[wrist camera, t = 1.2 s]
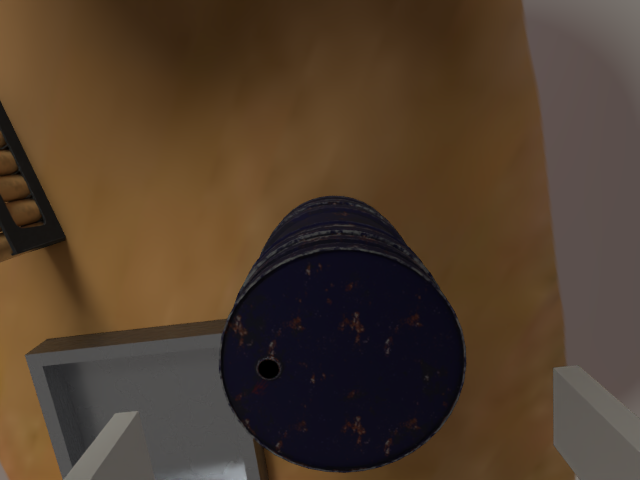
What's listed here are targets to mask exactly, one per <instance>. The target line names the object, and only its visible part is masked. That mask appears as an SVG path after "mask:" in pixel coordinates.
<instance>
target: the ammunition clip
mask: <svg viewBox="0 0 640 480" xmlns="http://www.w3.org/2000/svg"><path fill="white" fill-rule="evenodd" d="M5 202H8V203H5ZM20 226H21V227H20ZM1 231H3V233H0V262H3V261H5V260H8V259H11V258H13V257H16V256H19V255H22V254H24V253H27V252H30V251H34V250H37V249H41V248H44V247H47V246H50V245H53V244H56V243H58V242H61V241H64V240H65V238H66V236H65V234H64V232H63V230H62V228H61V226H60V224H59V222H58V220H57V218H56V215H55V213H54V211H53V209H52V207H51V205H50V203H49V201H48V199H47V197H46V195H45V193H44V191H43V189H42V186H41V184H40V182H39V180H38V178H37V176H36V174H35V172H34V170H33V168H32V166H31V164H30V162H29V160H28V157H27V155H26V153H25V151H24V149H23V147H22V145H21V143H20V141H19V139H18V137H17V135H16V133H15V131H14V128H13V126H12V124H11V122H10V120H9V118H8V116H7V114H6V112H5V110H4V108H3V106H2V104H1V102H0V232H1Z"/></svg>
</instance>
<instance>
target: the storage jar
mask: <svg viewBox="0 0 640 480" xmlns="http://www.w3.org/2000/svg"><path fill="white" fill-rule="evenodd" d="M465 370H466V346H465V341H464V337H463V332H462V328H461V326H460V323H459V321H458V318H457V316H456V314H455V311H454V310H453V308H452V307H451V305H450V303H449V302H448V300H447V299H446V297H445V296H444V294H443V293H442V292H441V290H440V288H439V286H438V284H437V283H436V281H435V280H434V278H433V276H432V275H431V273H430V272H429V271H428V270H427V268H426V267H425V266H424V265H423V263H422V262H421V260H420V259H419V258H418V257H417V255H416V254H415V253H414V252H413V251H412V250H411V249H410V248H409V247H408V246H407V245H406V243H405V242H404V240H403V239H402V237H401V236H400V235H399V233H398V232H397V230H396V229H395V228H394V227H393V226H392V225H391V223H390V222H389V221H388V220H387V219H386V218H384V217H383V216H382V215H381V214H380V213H379V212H377V211H376V210H375V209H374V208H373V207H371V206H369V205H367V204H366V203H364V202H361V201H359V200H356V199H354V198H349V197H344V196H325V197H319V198H316V199H312V200H309V201H307V202H305V203H303V204H301V205H299V206H298V207H296V208H295V209H293V210H292V211H291V212H290V213H289V214H288V215H286V216H285V217H284V219H283V220H282V221H281V222H280V223H279V225H278V226H277V227H276V228H275V230H274V231H273V232H272V234H271V236H270V238H269V239H268V241H267V243H266V244H265V246H264V248H263V250H262V252H261V255H260V257H259V259H258V260H257V261H256V262H255V264H254V265H253V267H252V269H251V270H250V272H249V274H248V276H247V278H246V280H245V282H244V284H243V286H242V287H241V289H240V291H239V293H238V296H237V298H236V301H235V304H234V307H233V309H232V311H231V313H230V315H229V316H228V318H227V321H226V324H225V327H224V330H223V333H222V336H221V342H220V348H219V374H220V379H221V385H222V389H223V392H224V394H225V397H226V400H227V403H228V405H229V407H230V409H231V410H232V412H233V414H234V416H235V417H236V419H237V420H238V422H239V423H240V424H241V425H242V427H243V428H244V429H245V430H246V432H247V433H248V434H249V435H250V436H251V437H252V438H253V439H255V440H256V441H257V442H258V443H259V444H260V445H261V446H263V447H264V448H266V449H267V450H269V451H270V452H272V453H273V454H274V455H276V456H278V457H280V458H282V459H284V460H286V461H288V462H291V463H293V464H296V465H299V466H302V467H305V468H308V469H314V470H319V471H325V472H343V473H346V472H357V471H365V470H369V469H374V468H378V467H382V466H384V465H387V464H390V463H392V462H395V461H398V460H400V459H401V458H403V457H405V456H407V455H409V454H411V453H412V452H414V451H415V450H417V449H418V448H419V447H421V446H422V445H423V444H425V443H426V442H427V441H428V440H429V439H430V438H431V437H432V436H433V435H434V434H435V433H436V432H437V431H438V430H439V429H440V428H441V427H442V426H443V424H444V423H445V421H446V420H447V419H448V417H449V416H450V415H451V413H452V411H453V409H454V407H455V405H456V403H457V401H458V399H459V396H460V393H461V389H462V386H463V383H464V378H465Z"/></svg>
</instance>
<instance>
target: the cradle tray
mask: <svg viewBox="0 0 640 480" xmlns="http://www.w3.org/2000/svg"><path fill="white" fill-rule="evenodd" d="M226 321H227V319H223V320H214V321H205V322H196V323H187V324H178V325H169V326H160V327H151V328H142V329H133V330H124V331H115V332H106V333H97V334H88V335H79V336H70V337H61V338H52V339H47V340H45V341H44V342H42V343H41V344H40V345H38V346H37V347H35V348H34V349H33V350H31V351H30V352H28V353H27V354H26V355H25V357H26V360H27V363H28V367H29V370H30V373H31V376H32V380H33V383H34V386H35V390H36V393H37V396H38V399H39V403H40V406H41V409H42V413H43V416H44V419H45V422H46V426H47V429H48V432H49V436H50V439H51V442H52V445H53V449H54V452H55V455H56V459H57V462H58V465H59V468H60V472H61V475H62V478H63V479H64V478H65V477H66V476H67V474H68V473H69V472H70V471H71V469H72V468H73V467H74V465H75V464H76V463H77V462H78V460H79V459H80V458H81V456H82V455H83V454H84V453H85V451H86V450H87V449H88V447H89V446H90V445H91V444H92V442H93V441H94V440H95V439H96V437H97V436H98V435H99V433H100V432H101V431H102V430H103V428H104V427H105V426H106V424H107V423H108V422H109V421H110V419H111V418H112V417H113V415H114V414H115V413H123V412H133V411H139V415H140V419H141V424H142V428H143V432H144V436H145V440H146V444H147V448H148V453H149V457H150V461H151V465H152V469H153V473H154V478H155V480H269V478H268V472H267V466H266V461H265V455H264V449H263V446H261V445H260V444H259V443H258V442H257V441H256V440H255V439H253V438H252V437H251V436H250V435H249V434H248V433H247V432H246V430H245V429H244V428H243V427H242V425H241V424H240V423H239V422H238V420H237V419H236V417H235V416H234V414H233V412H232V410H231V409H230V407H229V405H228V403H227V400H226V397H225V394H224V392H223V389H222V385H221V379H220V374H219V348H220V342H221V336H222V333H223V330H224V327H225V324H226Z"/></svg>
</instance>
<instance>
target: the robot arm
mask: <svg viewBox="0 0 640 480" xmlns="http://www.w3.org/2000/svg"><path fill="white" fill-rule="evenodd" d="M553 427H554V446H555V448H556V449H557V450H558V452H559V453H560V454H561V455H562V457H563V458H564V459H565V461H566V462H567V463H568V465H569V466H570V467H571V469H572V470H573V471H574V473H575V474H576V475H577V477H578V478H579V479H580V480H640V419H639V418H638V417H637V416H636V415H635V414H634V413H633V412H631V411H630V410H629V409H628V408H627V407H626V406H625V405H623V404H622V403H621V402H620V401H619V400H618V399H616V398H615V397H614V396H613V395H612V394H611V393H610V392H609V391H607V390H606V389H605V388H604V387H603V386H602V385H600V384H599V383H598V382H597V381H596V380H595V379H594V378H592V377H591V376H590V375H589V374H588V373H587V372H585V371H584V370H583V369H582V368H581V367H580V366H579V365H575V366H565V367H556V368H553ZM63 480H155V478H154V473H153V469H152V465H151V461H150V457H149V453H148V448H147V444H146V440H145V436H144V432H143V428H142V424H141V419H140V415H139V411H133V412H123V413H115V414H114V415H113V417H112V418H111V419H110V421H109V422H108V423H107V424H106V426H105V427H104V428H103V430H102V431H101V432H100V433H99V435H98V436H97V437H96V439H95V440H94V441H93V442H92V444H91V445H90V446H89V447H88V449H87V450H86V451H85V453H84V454H83V455H82V456H81V458H80V459H79V460H78V462H77V463H76V464H75V465H74V467H73V468H72V469H71V471H70V472H69V473H68V474H67V476H66V477H65V478H64V479H63Z"/></svg>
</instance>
